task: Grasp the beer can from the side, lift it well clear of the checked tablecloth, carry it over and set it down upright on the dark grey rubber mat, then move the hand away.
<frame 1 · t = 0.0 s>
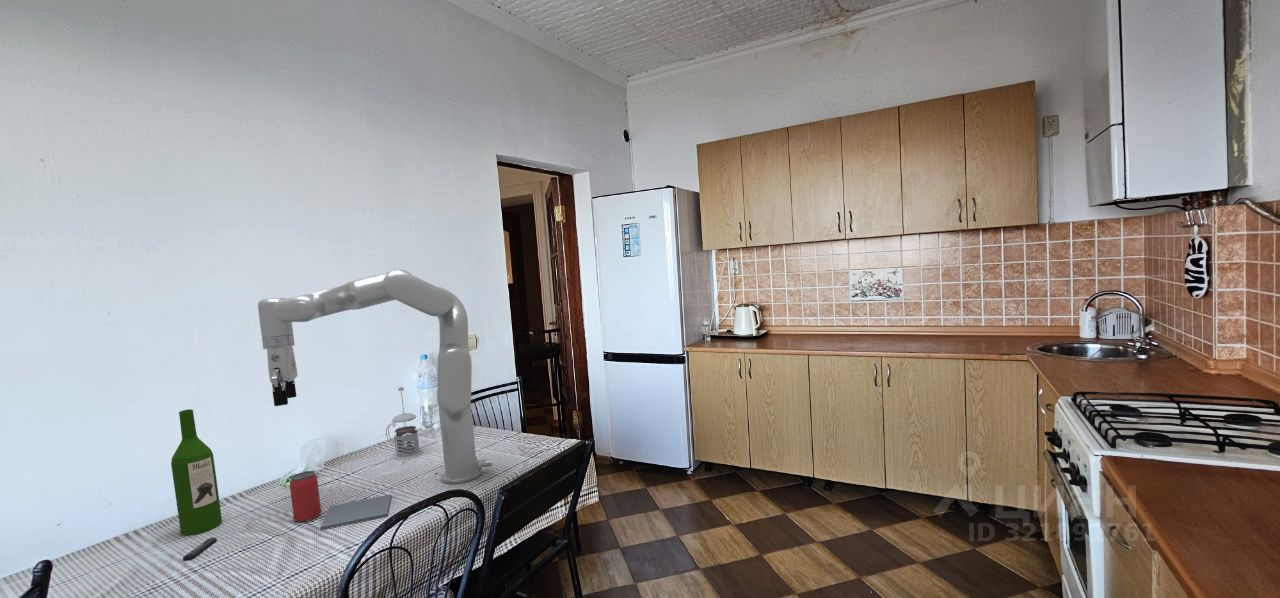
hand: (285, 401, 159), 31 cm above the table, tool pointing down, fingers open, 9 cm apart
usb stick: (200, 552, 140), on the table
beer can: (308, 517, 154), on the table
french press: (405, 456, 201), on the table
wine bottle: (202, 528, 153), on the table
mat: (358, 512, 155), on the table
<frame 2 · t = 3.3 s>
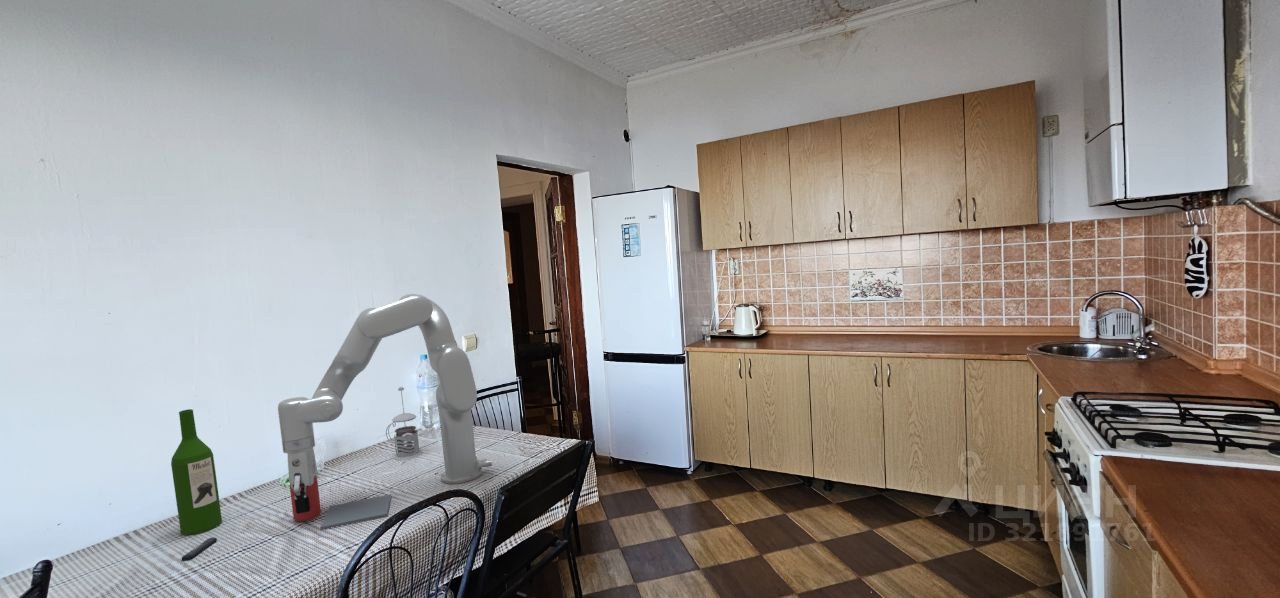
hand: (306, 506, 154), 3 cm above the table, tool pointing down, fingers closed on beer can, 6 cm apart
beer can: (307, 517, 154), on the table, touching gripper
everything else where it was.
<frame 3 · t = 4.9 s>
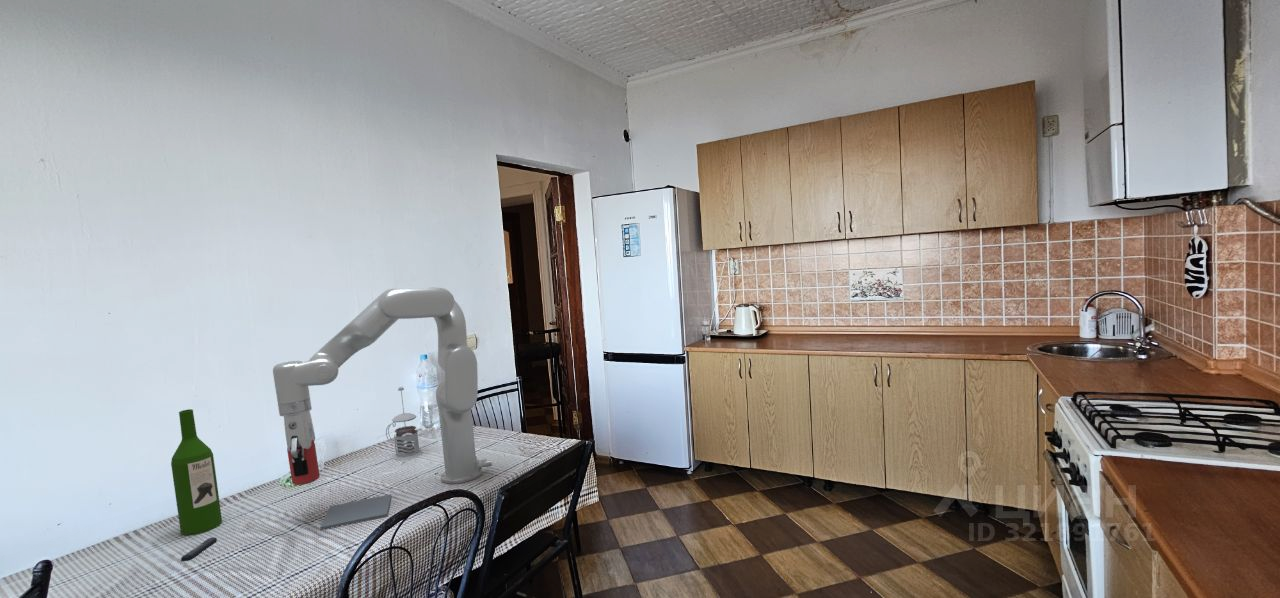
hand: (304, 470, 154), 13 cm above the table, tool pointing down, fingers closed on beer can, 6 cm apart
beer can: (306, 481, 154), point 10 cm above the table, touching gripper
everything else where it was.
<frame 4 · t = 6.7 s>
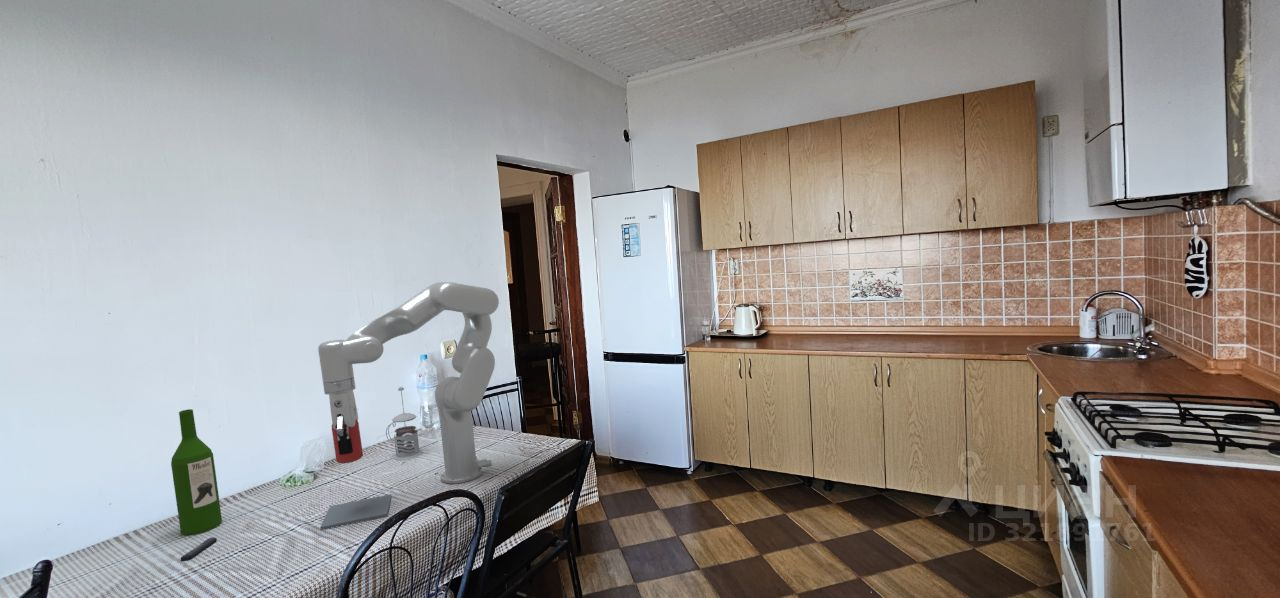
hand: (348, 448, 154), 18 cm above the table, tool pointing down, fingers closed on beer can, 6 cm apart
beer can: (350, 460, 154), point 15 cm above the table, touching gripper
everything else where it was.
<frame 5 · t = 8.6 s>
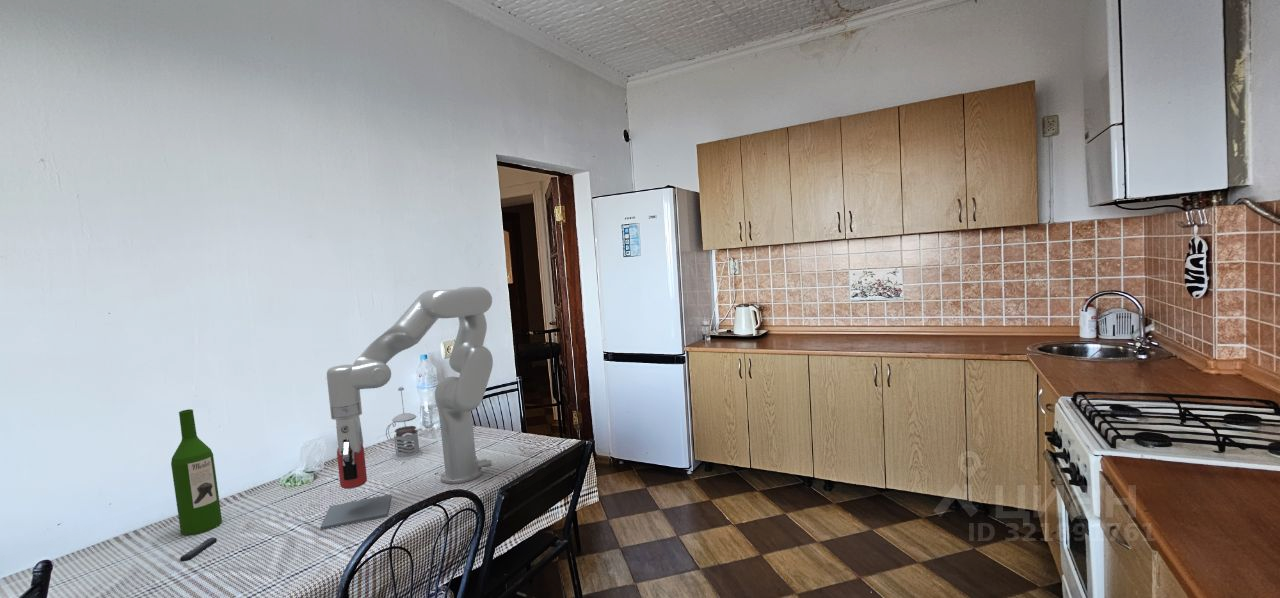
hand: (352, 473, 154), 11 cm above the table, tool pointing down, fingers closed on beer can, 6 cm apart
beer can: (354, 485, 154), point 8 cm above the table, touching gripper
everything else where it was.
when the fingers open (5 cm above the table, at t = 10.2 s): beer can drops 1 cm, resting on mat.
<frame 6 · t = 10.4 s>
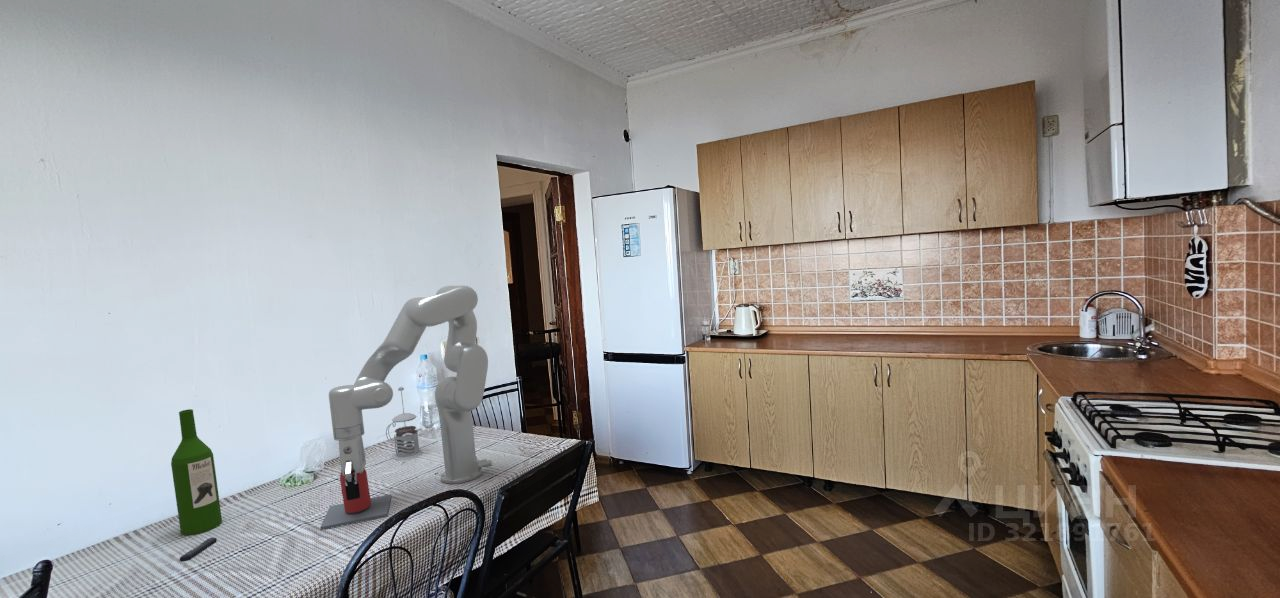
hand: (355, 492, 154), 6 cm above the table, tool pointing down, fingers open, 8 cm apart
beer can: (358, 509, 155), point 1 cm above the table, touching mat
everything else where it was.
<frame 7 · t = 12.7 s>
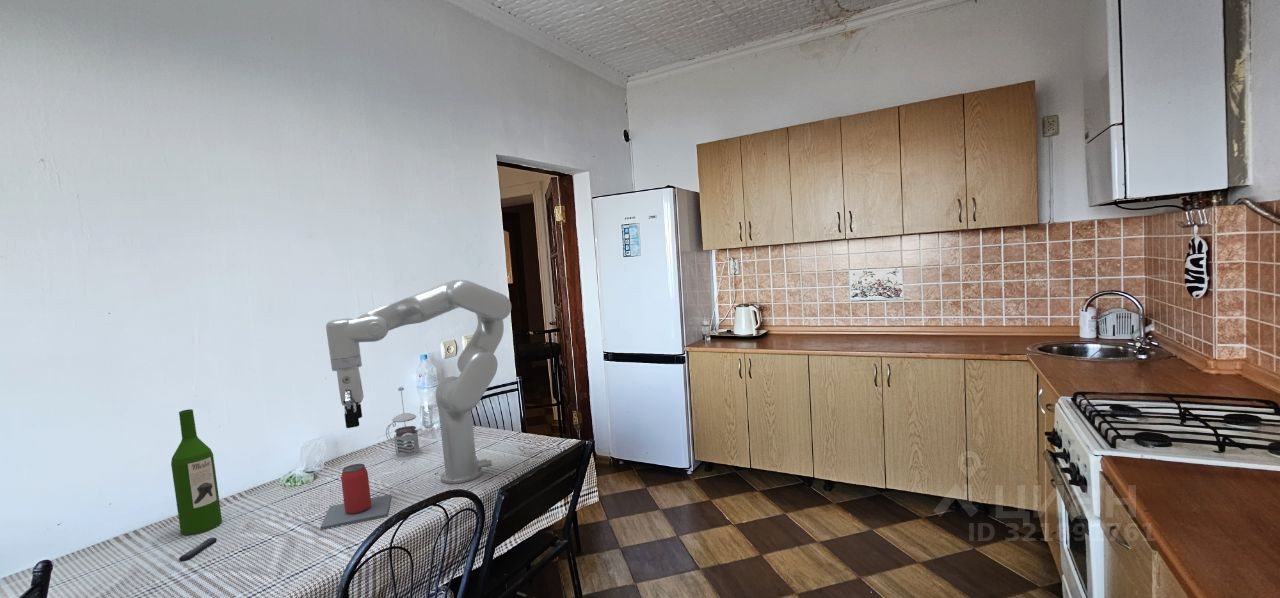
hand: (354, 422, 158), 24 cm above the table, tool pointing down, fingers open, 9 cm apart
nothing on the table moved.
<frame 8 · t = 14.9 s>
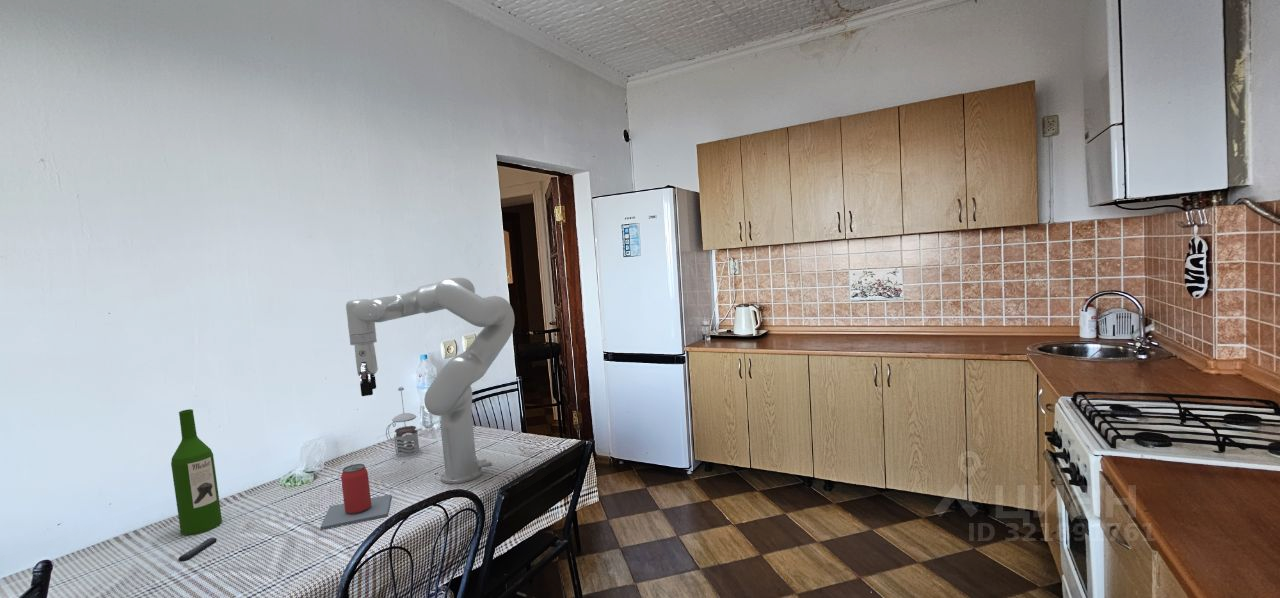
hand: (369, 392, 177), 28 cm above the table, tool pointing down, fingers open, 9 cm apart
nothing on the table moved.
at the end: beer can inside the target area on the mat (0.2 cm from its centre), point 0.6 cm above the mat's base; beer can tilted 0°; the gripper is holding nothing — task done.
